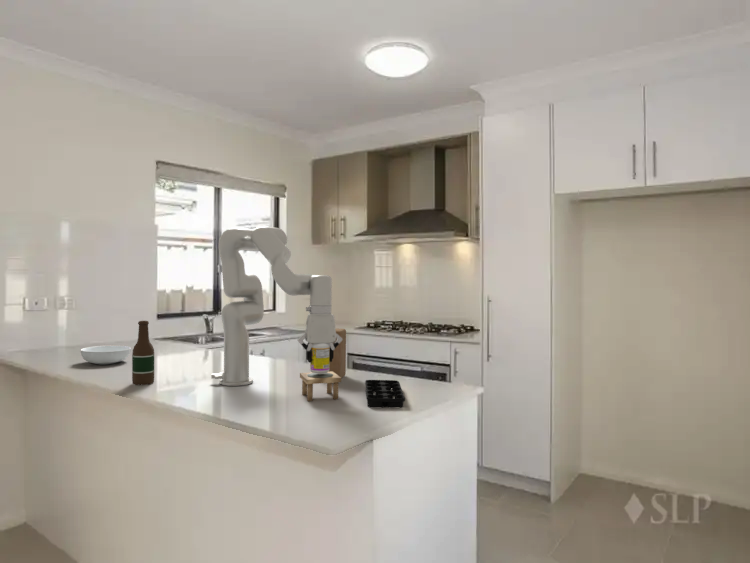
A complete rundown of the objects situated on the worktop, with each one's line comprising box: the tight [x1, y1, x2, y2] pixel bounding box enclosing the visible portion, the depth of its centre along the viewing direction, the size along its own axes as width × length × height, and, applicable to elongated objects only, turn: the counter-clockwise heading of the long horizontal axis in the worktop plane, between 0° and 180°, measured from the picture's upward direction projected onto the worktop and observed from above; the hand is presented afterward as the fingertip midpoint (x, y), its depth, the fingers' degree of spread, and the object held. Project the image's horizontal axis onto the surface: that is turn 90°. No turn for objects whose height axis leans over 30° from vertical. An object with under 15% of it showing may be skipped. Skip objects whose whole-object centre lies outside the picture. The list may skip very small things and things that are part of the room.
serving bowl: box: [79, 345, 132, 366], centre depth 247 cm, size 21×21×7 cm
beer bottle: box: [131, 320, 155, 386], centre depth 204 cm, size 8×8×24 cm
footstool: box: [299, 371, 342, 402], centre depth 186 cm, size 12×12×8 cm
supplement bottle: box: [309, 343, 330, 373], centre depth 186 cm, size 7×7×13 cm
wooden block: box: [329, 327, 347, 379], centre depth 219 cm, size 10×10×20 cm
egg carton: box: [364, 379, 406, 408], centre depth 186 cm, size 18×30×4 cm, turn 14°
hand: (319, 361), depth 186 cm, fingers closed on supplement bottle, 6 cm apart
